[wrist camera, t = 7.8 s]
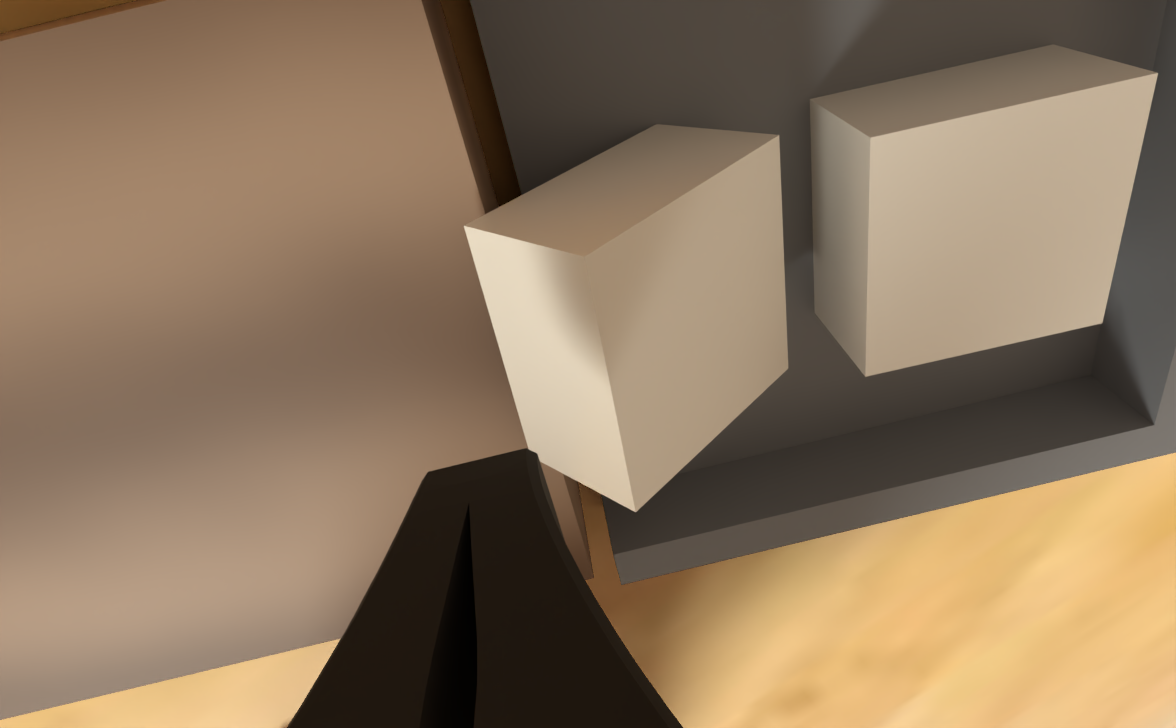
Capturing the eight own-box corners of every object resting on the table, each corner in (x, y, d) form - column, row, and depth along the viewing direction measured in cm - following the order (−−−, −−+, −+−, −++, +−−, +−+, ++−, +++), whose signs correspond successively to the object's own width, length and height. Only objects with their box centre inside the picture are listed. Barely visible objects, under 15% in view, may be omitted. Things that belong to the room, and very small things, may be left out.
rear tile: (865, 376, 14) (814, 312, 16) (1102, 323, 14) (1020, 266, 16) (870, 137, 11) (810, 98, 14) (1158, 72, 11) (1053, 44, 14)
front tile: (683, 335, 16) (788, 368, 14) (530, 456, 13) (635, 512, 12) (656, 124, 13) (779, 134, 12) (463, 225, 11) (584, 256, 9)
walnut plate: (577, 483, 18) (593, 577, 16) (25, 616, 18) (-47, 731, 16) (419, -70, 12) (403, -59, 9) (-433, 141, 12) (-675, 208, 9)
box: (1109, 386, 19) (1188, 448, 17) (605, 507, 19) (621, 584, 17) (1275, -362, 11) (1459, -420, 9) (430, -153, 11) (419, -162, 9)
